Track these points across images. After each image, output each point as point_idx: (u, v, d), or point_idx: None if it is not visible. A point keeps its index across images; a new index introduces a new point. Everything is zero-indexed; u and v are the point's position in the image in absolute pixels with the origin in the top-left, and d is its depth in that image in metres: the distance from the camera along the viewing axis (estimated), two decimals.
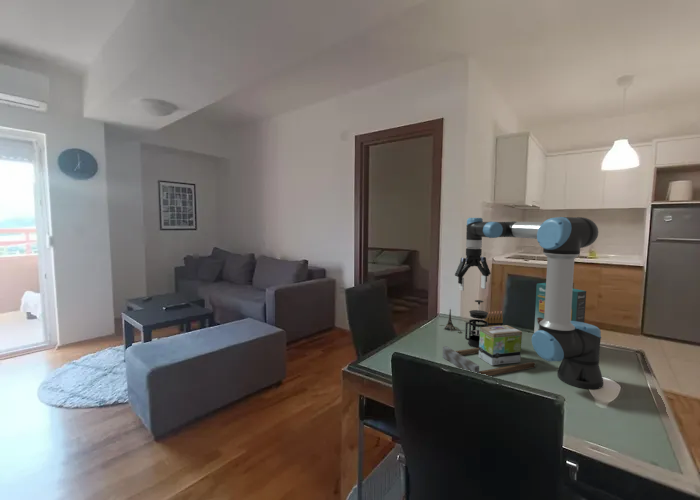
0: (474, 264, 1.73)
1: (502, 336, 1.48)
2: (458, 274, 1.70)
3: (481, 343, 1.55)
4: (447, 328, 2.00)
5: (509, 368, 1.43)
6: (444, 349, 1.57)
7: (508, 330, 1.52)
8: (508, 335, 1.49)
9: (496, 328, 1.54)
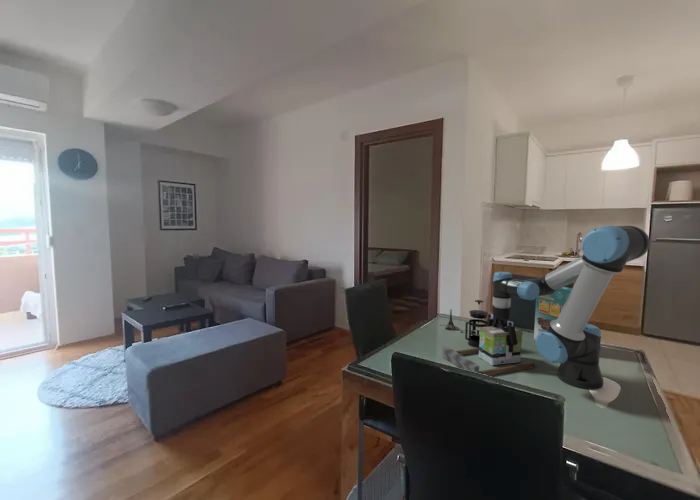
0: (498, 324, 1.53)
1: (502, 336, 1.48)
2: None
3: (481, 343, 1.55)
4: (448, 328, 2.00)
5: (509, 368, 1.43)
6: (444, 349, 1.57)
7: None
8: None
9: (496, 328, 1.54)
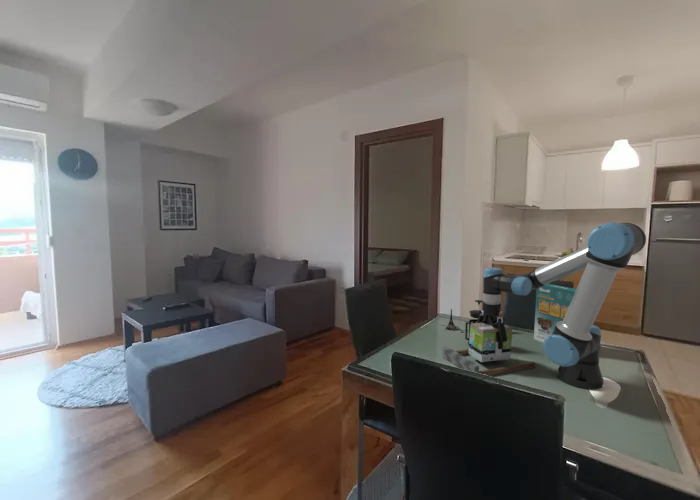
0: (488, 320, 1.52)
1: (491, 332, 1.47)
2: None
3: (471, 340, 1.54)
4: (448, 328, 2.00)
5: (509, 368, 1.43)
6: (444, 349, 1.57)
7: None
8: None
9: (486, 324, 1.52)
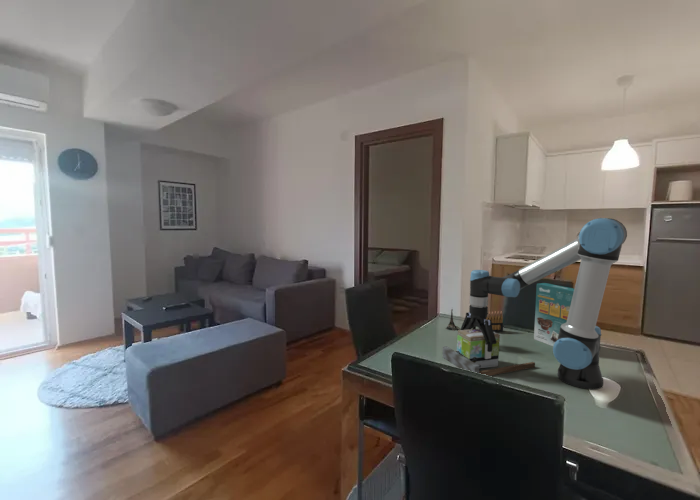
0: (475, 324, 1.49)
1: (479, 339, 1.44)
2: (461, 327, 1.59)
3: (459, 347, 1.51)
4: (449, 328, 2.00)
5: (509, 368, 1.43)
6: (444, 349, 1.57)
7: None
8: None
9: (474, 331, 1.50)
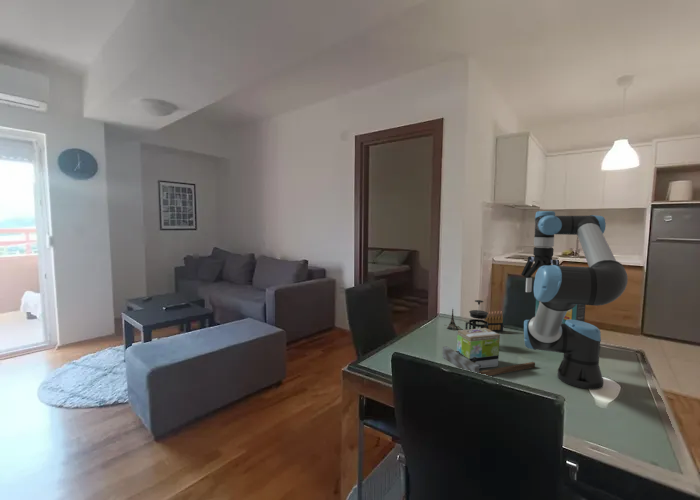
0: (540, 266, 1.48)
1: (479, 339, 1.44)
2: (522, 273, 1.57)
3: (459, 347, 1.51)
4: (450, 328, 2.01)
5: (509, 368, 1.43)
6: (444, 349, 1.57)
7: (485, 333, 1.48)
8: (485, 339, 1.45)
9: (474, 331, 1.50)
